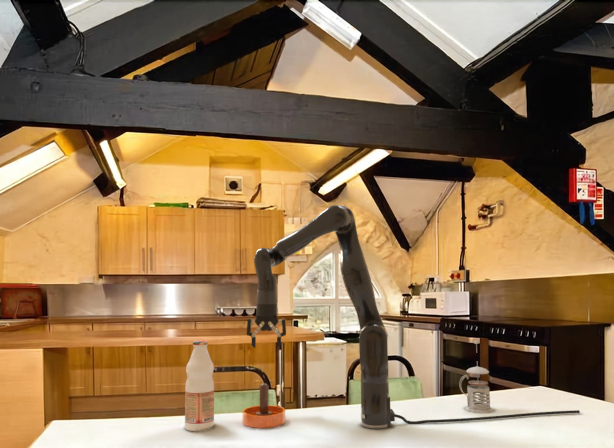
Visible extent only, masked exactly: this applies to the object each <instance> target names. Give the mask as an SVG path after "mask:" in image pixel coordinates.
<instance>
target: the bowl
mask: <svg viewBox="0 0 614 448" xmlns="http://www.w3.org/2000/svg"><path fill="white" fill-rule="evenodd" d="M258 411H260V405H253V406H249V407H246V408H244V409H242V414H241V415H242V417H241V418H242V424H243V425H244V426H246V427H249V428H255V429H268V428H275V427H280V426H282V425H284V424H285V423H286V409H285V407H282V406H280V405H279V406H278V405H271V404H268V411H271V412H272V415H266V416H258V415H256V412H258Z"/></svg>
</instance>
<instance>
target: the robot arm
mask: <svg viewBox="0 0 614 448" xmlns="http://www.w3.org/2000/svg"><path fill="white" fill-rule="evenodd" d="M356 224H357V223H356V219H355V215H354V213H353V211H352V210H351V208H349V207H348V206H345V205H341V204H340V205H339V204H331V205H330V206H328V207H326V209H324V210H322V211H321V212H320V213H319V214H318V215H317V216H315V218H313V219H312V220H311V221H309V222H307V223H306V224H305V225H303V226H302V227H300V228H298V229H296V230H295V231H293V232H291V233H289V234H288V235H286V236H284V237H282V238H280V239H279V240H278V241H277V242H276V245H275V246H273V247H271V248H270V247H269V248H268V247H260V248H259V249H257V250H256V252H255V253H254V257H253V263H254V270H255V274H256V278H257V288H256V289H257V292H256V309H255V310H256V312H255V313H256V317H255V318H248V319H247V324H246V335H247V336H249V337H251V347H253V349H255V348H256V346H257V334H258V333H259V331H262V332H265V331H267V332H271V331H272V332H274V333H275V335H276V336H277V337H276V348H277V349H280V347H281V346H282V337H284V336H286V335H287V325H286V319H285V318H279V319H278V291H277V288H278V287H277V286H278V285H277V282H278V281H277V276H276V275H275V274H273V271H272V268H275V267H277V266H279V265H280V264H282V263H283V262H284V261H286V260H287V259H288V258H289V257H291V256H294V255H295V254H297V253H298V252H301V251H302V250H303V249H305V248H306V247H308V246H309V245H310V244H311V243H312V242H314V241H315V240H316V239H318V238H320V237H322V236H324V235H327V234H330V233H333V232H334V233H335V235H336V239H337V241H338V245H339V250H340V256H339V257H340V261H339V262H340V263H339V264H340V273H341V276H342V281H343V284H344V287H345V291H346V292H347V294H348V297H349V300H350V302H351V303H352V306H353V308H354V309H355V313H356V316H357V320H358V324H359V330H360V332H359V337H358V345H359V346H358V347H359V348H358V350H359V366H360V367H359V368H360V426H362V427H363V428H366V429H371V430H372V429H373V430H380V429H388V428H392V422H396V418H398V419H400V420H402V421H403V422H404V423H406V424H409V425H421V424H432V423H433V424H434V423H435V424H436V423H455V422H456V423H457V422H471V421H485V420H486V421H487V420H497V419H508V418H520V417H521V418H522V417H532V416H547V415H563V414H565V415H566V414H580V413H581V411H580V410H579V409H576V410H574V409H573V410H553V411H540V412H539V411H538V412H526V413H515V414H513V413H512V414H501V415H490V416H478V417H463V418H445V419H442V418H441V419H423V420H416V421H415V420H414V421H413V420H408V419H407V418H406V417H404V416H402V415H400V414H396V412H395V411H394V410H393V409H392V408H391V396H390V386H389V383H390V382H389V357H388V356H389V355H388V354H389V353H388V351H389V349H388V346H389V345H388V338H389V337H388V336H389V335H388V331H387V329H386V327H385V325H384V324H385V323H384V322H383V320H382V317H381V314H380V312H379V309H378V306H377V301H376V295H375V290H374V286H373V282H372V277H371V275H370V271H369V269H368V265H367V262H366V259H365V255H364V252H363V249H362V247H361V244H360V240H359V235H358V230H357V226H356ZM254 323H255V324H256V326H257V327H256V328H255V330H254V331H253V332H251V331H252V325H254ZM278 324H279V325H280V326H281V327H282V332H280V331H279V329H278V328H277V325H278Z"/></svg>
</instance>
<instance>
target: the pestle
mask: <svg viewBox="0 0 614 448" xmlns="http://www.w3.org/2000/svg"><path fill="white" fill-rule="evenodd" d="M269 387H270V386H269V384H267V383H266V382H263V383H261V384H260V385H259V406H260V411H258V412H256V415H258V416H266V415H272V412H271V411H268V405H269V391H270V390H269V389H270V388H269Z"/></svg>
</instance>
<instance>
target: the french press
mask: <svg viewBox="0 0 614 448" xmlns="http://www.w3.org/2000/svg"><path fill="white" fill-rule="evenodd" d="M473 344H474V345H475V347H476V348H475V349H476V352H478V344H480V341H479V340H478V339H477V340H476V339H475V340H474V341H473ZM478 363H479V362H476V366H473V367H469V368H468V369H466V373H467V374H464V375H462V376H461V377H460V379H459V382H458V383H459V384H458V385H459V390H460V392H461V393H462V394H464V395H465V396H466V403H467V406H466V407H465V408H464V409H465V411H468V412H472V413H476V414H477V413H478V414H489V413H492V412H494V409H493V408H492V407H491V399H490V398H491V396H490V395H491V394H490V393H491V392H490V391H491V390H490V386H489V382H488V381H484V380H478V379H477V380H474V379H473V380H469V377H468V374H472V375H477V377H479V375H488V374H489V373H490V371H489V370H488V369H487V368H484V367H481V366H478ZM465 378H466V380H469V381H468V382H467V383H468V385H467V387H466V388H467V393H465V392H464V391H463V388H462V387H461V384H462V382H463V380H464V379H465Z"/></svg>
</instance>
